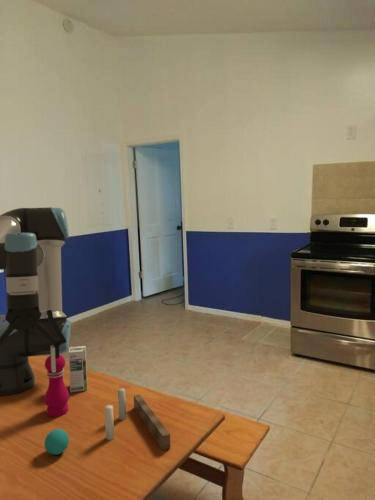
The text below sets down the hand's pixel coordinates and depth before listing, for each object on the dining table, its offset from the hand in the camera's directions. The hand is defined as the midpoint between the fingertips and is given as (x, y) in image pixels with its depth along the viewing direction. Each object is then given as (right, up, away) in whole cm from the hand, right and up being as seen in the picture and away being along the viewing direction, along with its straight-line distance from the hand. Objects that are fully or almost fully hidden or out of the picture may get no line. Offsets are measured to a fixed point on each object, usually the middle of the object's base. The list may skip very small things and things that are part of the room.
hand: (25, 375), depth 99 cm
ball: (+7, -18, +2) cm, 19 cm away
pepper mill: (+1, -19, +22) cm, 29 cm away
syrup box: (+3, -17, +38) cm, 41 cm away
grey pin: (+22, -19, +18) cm, 34 cm away
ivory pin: (+20, -20, +8) cm, 29 cm away
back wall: (+31, -19, +14) cm, 39 cm away
